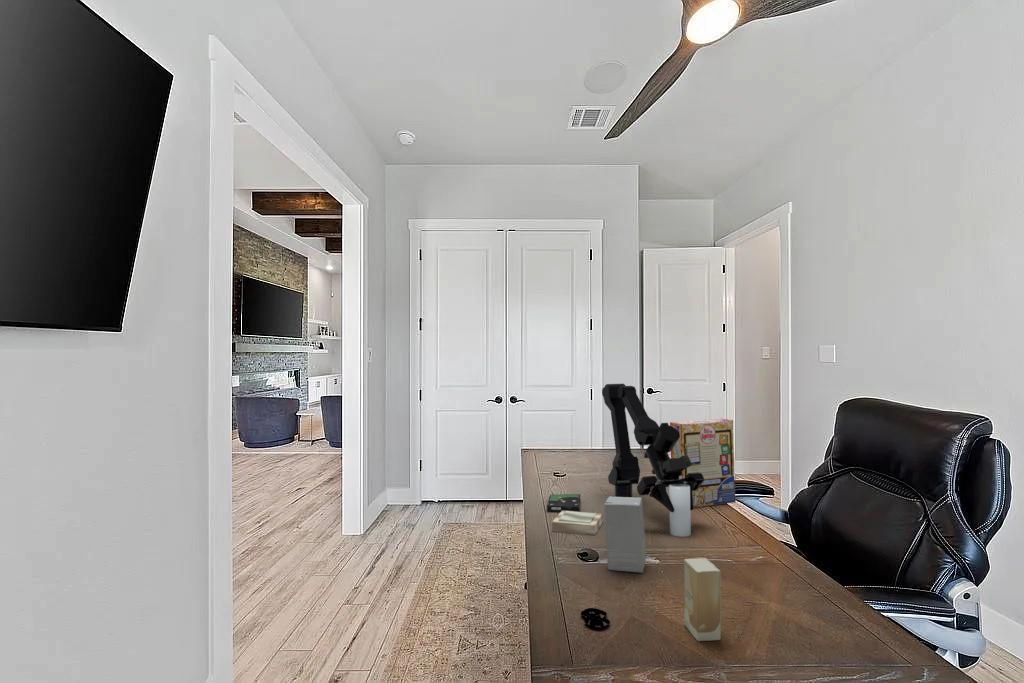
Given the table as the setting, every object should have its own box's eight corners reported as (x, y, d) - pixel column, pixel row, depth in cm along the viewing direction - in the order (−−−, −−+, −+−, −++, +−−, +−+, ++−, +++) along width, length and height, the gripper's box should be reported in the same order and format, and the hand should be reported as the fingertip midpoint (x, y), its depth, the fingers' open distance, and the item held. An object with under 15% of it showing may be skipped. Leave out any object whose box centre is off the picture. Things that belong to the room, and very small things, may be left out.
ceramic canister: (670, 529, 161) (669, 482, 161) (691, 531, 159) (690, 484, 159) (669, 535, 156) (668, 487, 156) (690, 537, 154) (689, 488, 154)
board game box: (723, 498, 193) (722, 418, 194) (736, 503, 187) (734, 420, 188) (670, 504, 187) (669, 421, 187) (682, 509, 181) (680, 423, 181)
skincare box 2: (683, 625, 106) (682, 557, 106) (706, 623, 106) (705, 556, 106) (697, 642, 99) (696, 571, 99) (722, 641, 100) (721, 570, 100)
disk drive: (580, 515, 178) (580, 502, 193) (580, 506, 178) (580, 493, 193) (546, 514, 180) (549, 501, 194) (546, 505, 180) (549, 493, 194)
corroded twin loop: (586, 633, 103) (585, 627, 103) (578, 613, 111) (578, 607, 111) (613, 632, 104) (613, 626, 104) (604, 612, 112) (604, 606, 112)
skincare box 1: (646, 564, 136) (644, 496, 136) (642, 575, 129) (641, 504, 129) (610, 560, 138) (609, 494, 139) (604, 571, 132) (603, 501, 132)
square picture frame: (562, 519, 172) (562, 509, 172) (602, 522, 168) (602, 512, 168) (552, 531, 161) (552, 520, 161) (594, 535, 157) (594, 524, 157)
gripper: (641, 447, 159) (662, 497, 148) (700, 443, 164) (725, 491, 153) (628, 470, 167) (647, 519, 156) (685, 466, 172) (708, 513, 161)
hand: (682, 510), depth 156 cm, fingers closed on ceramic canister, 5 cm apart
